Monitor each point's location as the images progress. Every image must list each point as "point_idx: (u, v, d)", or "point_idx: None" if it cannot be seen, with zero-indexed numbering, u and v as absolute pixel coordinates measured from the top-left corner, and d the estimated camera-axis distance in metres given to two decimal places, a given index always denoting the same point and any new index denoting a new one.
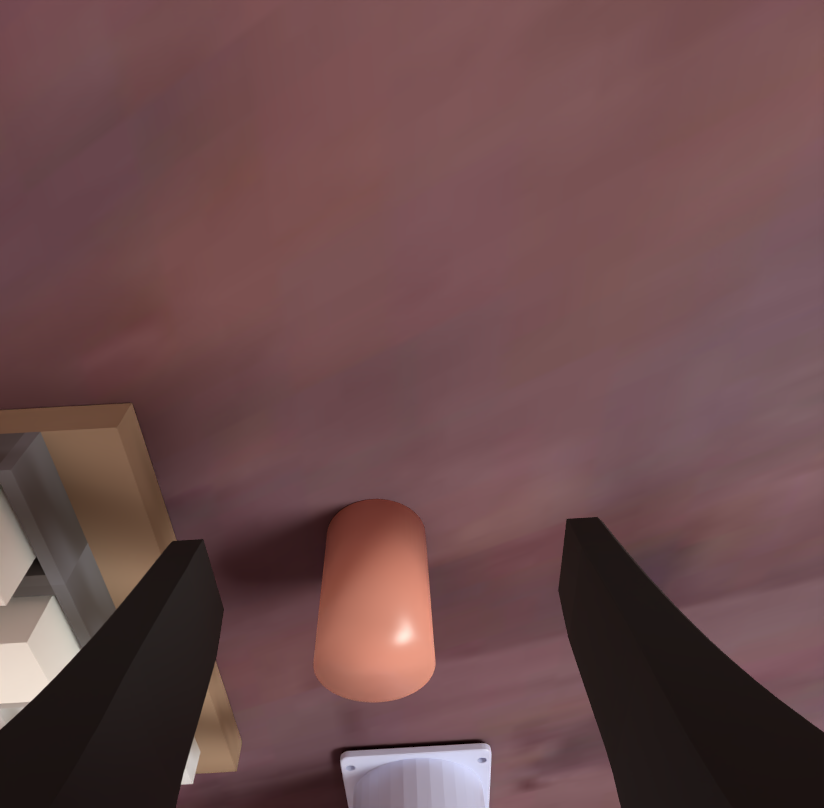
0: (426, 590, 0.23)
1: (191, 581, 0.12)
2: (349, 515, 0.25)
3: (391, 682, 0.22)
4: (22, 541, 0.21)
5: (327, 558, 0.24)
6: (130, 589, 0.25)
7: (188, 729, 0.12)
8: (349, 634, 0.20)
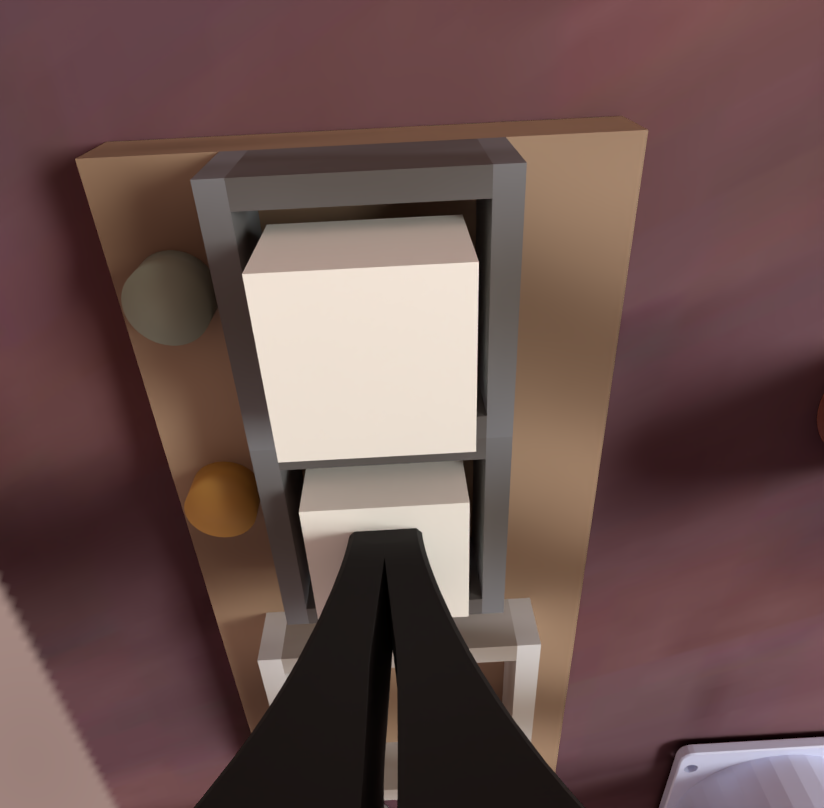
0: None
1: (385, 570, 0.12)
2: None
3: None
4: None
5: None
6: (530, 474, 0.15)
7: (385, 718, 0.12)
8: None
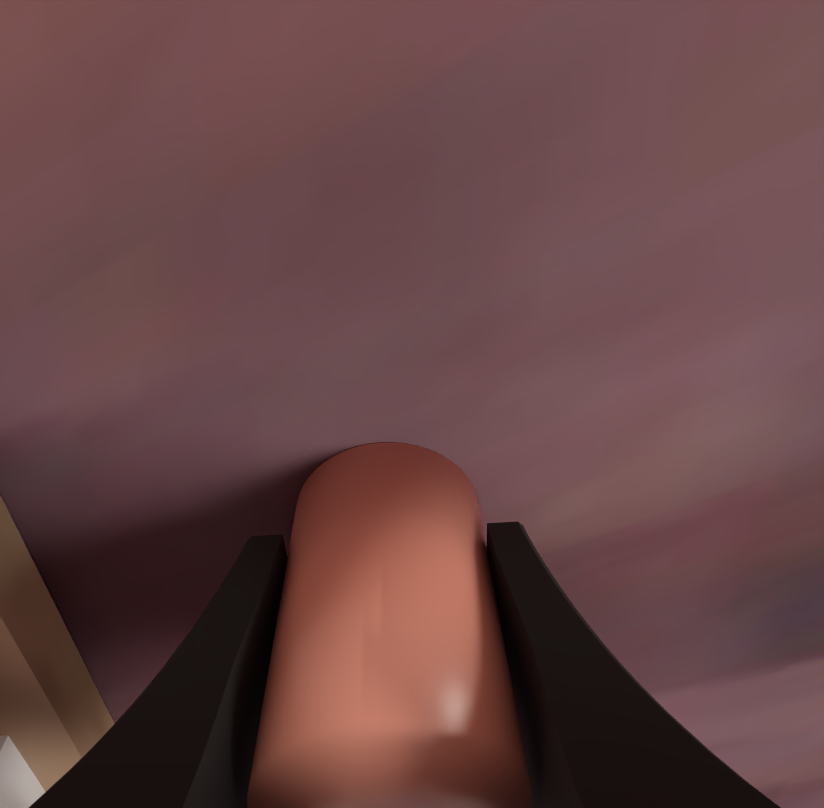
0: (497, 623, 0.11)
1: (276, 576, 0.12)
2: (336, 472, 0.13)
3: None
4: None
5: (291, 556, 0.12)
6: None
7: None
8: (331, 742, 0.08)
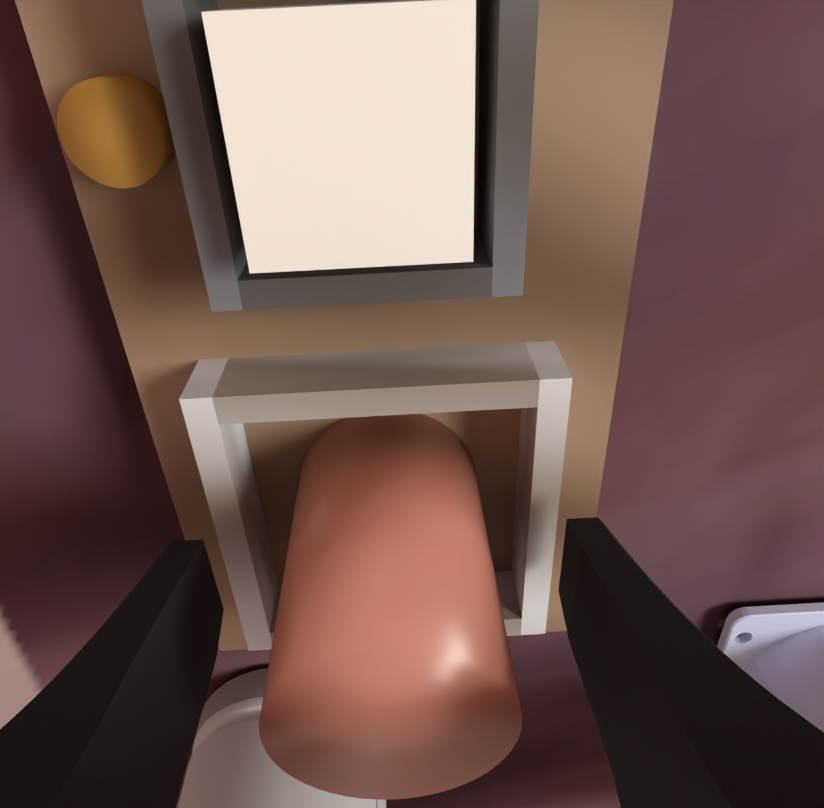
0: (493, 575, 0.12)
1: (191, 581, 0.12)
2: (344, 433, 0.13)
3: (423, 763, 0.10)
4: None
5: (299, 509, 0.13)
6: (560, 109, 0.11)
7: (188, 729, 0.12)
8: (344, 663, 0.09)
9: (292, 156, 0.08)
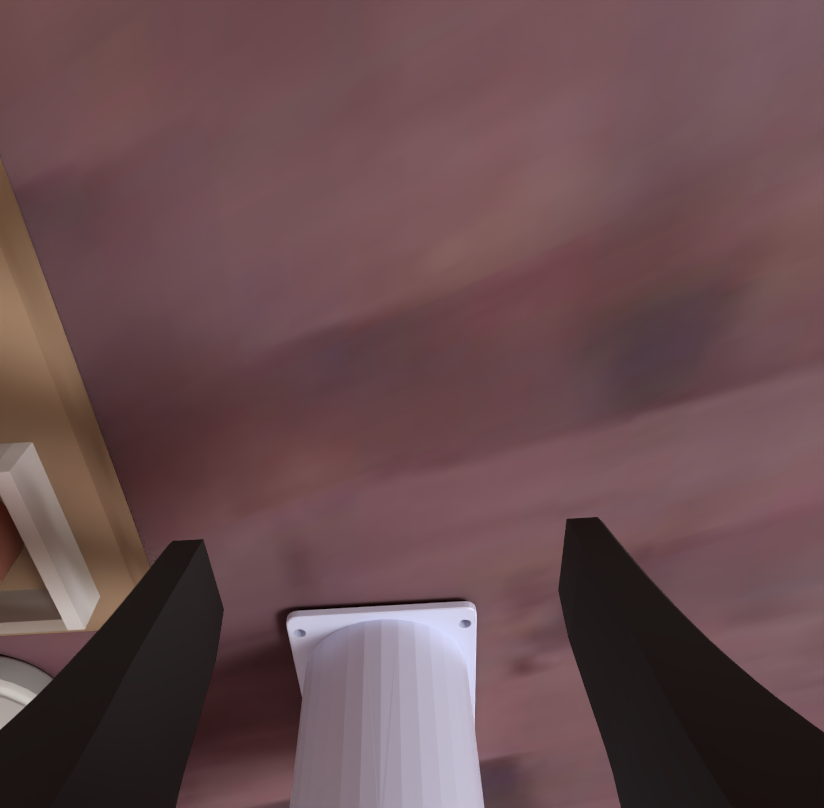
0: None
1: (191, 581, 0.12)
2: None
3: None
4: None
5: None
6: None
7: (188, 729, 0.12)
8: None
9: None
